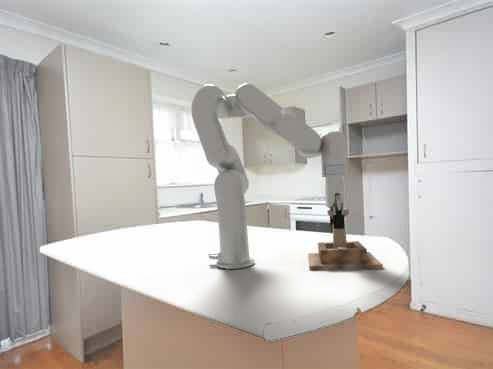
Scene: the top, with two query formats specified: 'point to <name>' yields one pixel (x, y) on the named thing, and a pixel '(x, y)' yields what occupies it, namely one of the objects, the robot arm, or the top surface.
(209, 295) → the top surface
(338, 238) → the handle
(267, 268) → the top surface
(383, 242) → the top surface
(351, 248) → the hub block
